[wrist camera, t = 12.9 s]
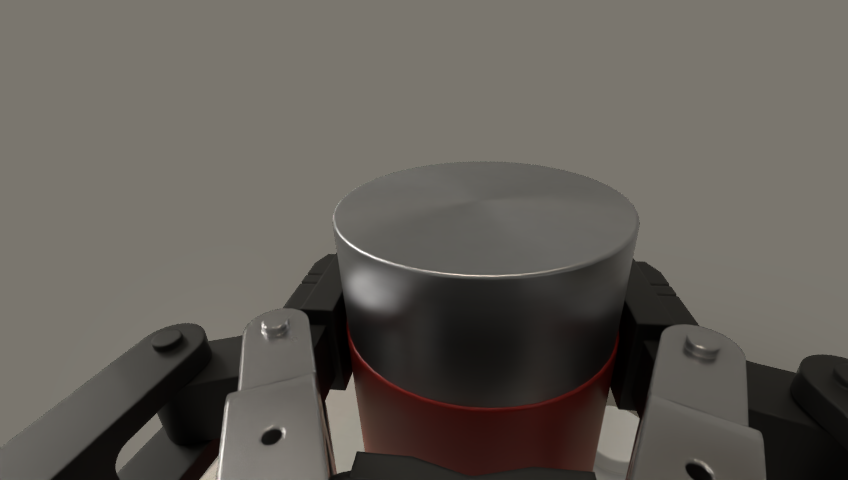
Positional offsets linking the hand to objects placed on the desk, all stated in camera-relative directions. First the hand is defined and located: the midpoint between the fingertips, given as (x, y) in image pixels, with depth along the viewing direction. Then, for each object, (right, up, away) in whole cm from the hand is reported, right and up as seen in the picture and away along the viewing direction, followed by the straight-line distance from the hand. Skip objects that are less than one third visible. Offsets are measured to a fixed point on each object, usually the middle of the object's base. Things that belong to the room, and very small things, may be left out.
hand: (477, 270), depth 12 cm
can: (0, -8, +1) cm, 8 cm away
